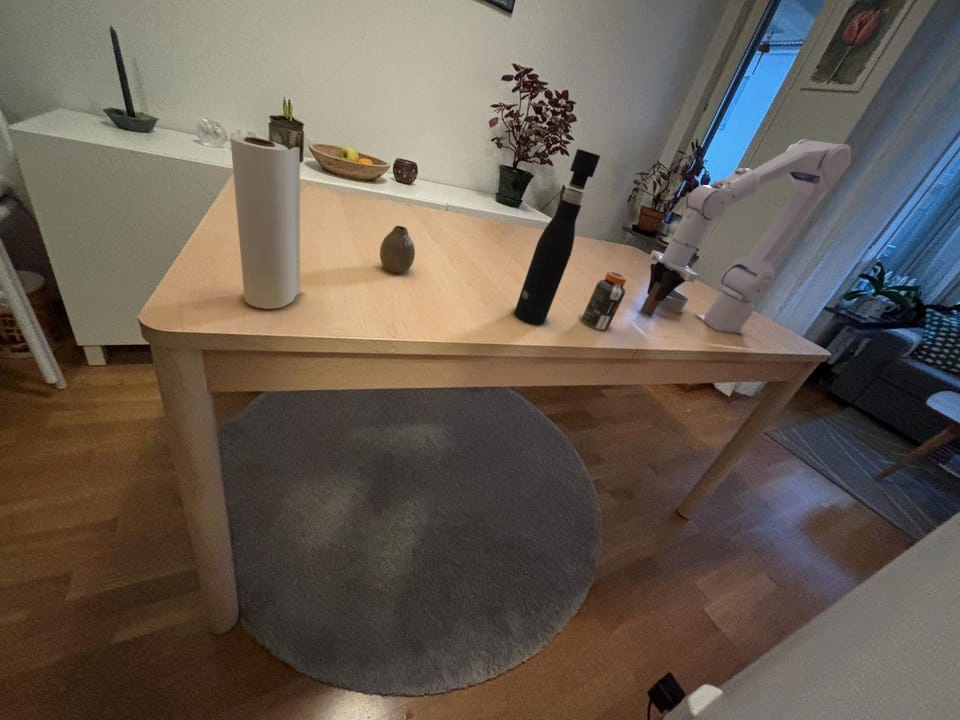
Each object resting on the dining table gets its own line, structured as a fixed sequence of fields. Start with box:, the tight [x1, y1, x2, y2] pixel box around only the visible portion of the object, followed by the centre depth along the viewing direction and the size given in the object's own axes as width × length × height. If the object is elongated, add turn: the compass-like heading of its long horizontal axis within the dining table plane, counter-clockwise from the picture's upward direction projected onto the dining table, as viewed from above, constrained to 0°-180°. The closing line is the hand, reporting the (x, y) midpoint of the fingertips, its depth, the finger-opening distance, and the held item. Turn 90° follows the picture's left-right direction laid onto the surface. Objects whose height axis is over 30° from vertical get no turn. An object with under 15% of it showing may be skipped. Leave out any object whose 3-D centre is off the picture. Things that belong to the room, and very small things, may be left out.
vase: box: [379, 225, 416, 275], centre depth 76 cm, size 7×7×9 cm
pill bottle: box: [581, 270, 628, 330], centre depth 79 cm, size 6×6×11 cm
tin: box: [657, 289, 689, 314], centre depth 105 cm, size 9×9×4 cm
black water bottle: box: [514, 148, 601, 326], centre depth 68 cm, size 6×6×30 cm
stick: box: [639, 281, 661, 316], centre depth 93 cm, size 2×2×8 cm
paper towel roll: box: [229, 135, 301, 310], centre depth 51 cm, size 7×6×21 cm
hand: (654, 297), depth 93 cm, fingers open, 3 cm apart
